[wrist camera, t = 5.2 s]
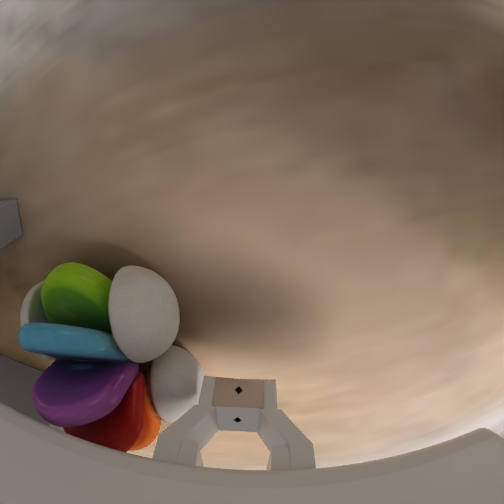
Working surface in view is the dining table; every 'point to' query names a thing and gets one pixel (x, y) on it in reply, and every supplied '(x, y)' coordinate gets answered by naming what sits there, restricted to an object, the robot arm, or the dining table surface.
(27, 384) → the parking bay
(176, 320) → the multicoloured rounded-lobe toy
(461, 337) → the dining table surface
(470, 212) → the dining table surface
